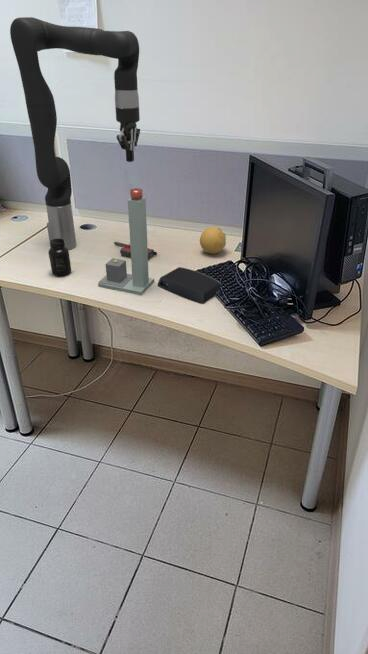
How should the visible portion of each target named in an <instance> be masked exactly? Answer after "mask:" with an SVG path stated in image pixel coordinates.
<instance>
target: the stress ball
mask: <svg viewBox="0 0 368 654" xmlns="http://www.w3.org/2000/svg"><path fill="white" fill-rule="evenodd" d="M226 237H227V236H226V234H225V233H224V231H223V230H222V229H221V228H220V227H215V226H214V227H213V226H211V227H207V228H206V229H204V230H203V231H202V232H201V234H200V237H199V245H200V247H201V249H202V250H203V251H204V252H206V253H208V254H211V255H215V254H217V253H220V252H221V251H222V250H223V249H224V248H225V247H226V244H227V241H226V240H227V238H226Z"/></svg>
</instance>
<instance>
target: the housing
mask: <svg viewBox="0 0 368 654" xmlns="http://www.w3.org/2000/svg"><path fill="white" fill-rule="evenodd" d="M104 265H105V276H106V275H107V280H108V281H113V282H118V283H121V282H122V281H123V280H124V279H125V278H126V277H127V274H128V272H127V260H125V259H119V258H114V257H112V258H111V259H110V260H109V261H107V262H106V263H105V264H104Z"/></svg>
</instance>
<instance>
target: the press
mask: <svg viewBox="0 0 368 654" xmlns="http://www.w3.org/2000/svg"><path fill="white" fill-rule="evenodd" d="M146 202H147V200H146V197H142V198H140V200H134V199H133V198H131V197H130V198H128V199H127V209H128V211H127V212H128V229H129V243H130V247H131V258H130V262H131V273H127V277H126V278H125V279H124V280H123V281H122V282H121V283H118V282H113V281H108V280H107V275H106V274H105V276H104V277H102V278H101V279H100V280H99V281H98V282H97V286H98V287H100V288H104V289H109V290H113V291H117V292H123V293H127V294H128V293H129V294H133V295H137V296H142V295H143V294H144V293H145V292H146V291H147V290H148V289H149V288H150V287H151V286H152V285H153V284H154V283H155V279H154V278H152V277H149V260H148V248H149V247H148V226H147V225H148V223H147V203H146Z"/></svg>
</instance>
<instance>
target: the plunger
mask: <svg viewBox="0 0 368 654" xmlns="http://www.w3.org/2000/svg"><path fill="white" fill-rule="evenodd" d="M129 194H130V195H129V196H130V198H133V199H134V200H140V198H142V197H143V195H144V194H143V189H142V188H137V187H136V188H131V189H130V191H129Z"/></svg>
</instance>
